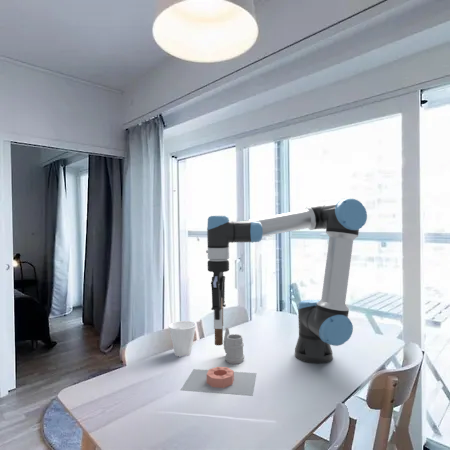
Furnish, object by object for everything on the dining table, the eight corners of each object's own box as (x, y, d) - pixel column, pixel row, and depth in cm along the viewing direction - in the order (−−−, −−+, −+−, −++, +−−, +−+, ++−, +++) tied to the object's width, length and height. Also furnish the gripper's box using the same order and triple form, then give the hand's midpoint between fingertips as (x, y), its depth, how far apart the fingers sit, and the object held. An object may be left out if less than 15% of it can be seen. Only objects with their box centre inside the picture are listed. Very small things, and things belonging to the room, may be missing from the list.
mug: (232, 366, 126) (231, 335, 126) (216, 356, 136) (216, 327, 136) (248, 362, 130) (247, 332, 130) (232, 352, 140) (231, 324, 140)
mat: (256, 374, 119) (256, 373, 119) (252, 396, 103) (252, 395, 103) (193, 370, 123) (193, 369, 123) (180, 391, 108) (180, 390, 108)
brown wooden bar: (223, 342, 115) (223, 297, 115) (221, 345, 112) (221, 299, 112) (215, 342, 115) (215, 297, 115) (214, 345, 112) (213, 298, 112)
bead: (235, 376, 117) (234, 367, 117) (231, 388, 108) (230, 379, 108) (210, 374, 119) (210, 366, 119) (204, 386, 110) (204, 377, 110)
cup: (178, 361, 131) (178, 331, 132) (163, 353, 140) (163, 324, 140) (202, 353, 139) (201, 324, 139) (186, 346, 148) (186, 319, 148)
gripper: (212, 257, 122) (213, 320, 122) (202, 262, 107) (203, 333, 107) (232, 257, 121) (232, 321, 120) (224, 262, 105) (225, 334, 105)
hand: (218, 326), depth 113 cm, fingers closed on brown wooden bar, 2 cm apart
